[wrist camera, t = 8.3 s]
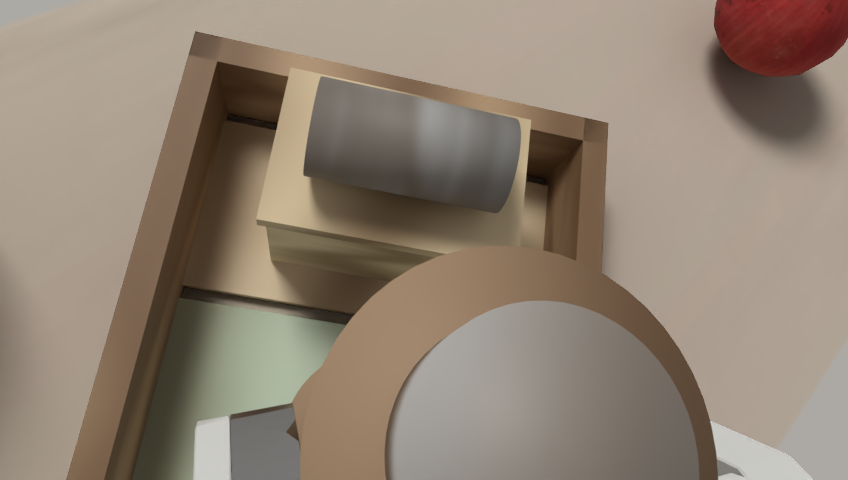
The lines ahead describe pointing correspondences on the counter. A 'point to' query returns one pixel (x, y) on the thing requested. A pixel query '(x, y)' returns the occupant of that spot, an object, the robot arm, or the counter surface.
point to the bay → (266, 260)
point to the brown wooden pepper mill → (504, 380)
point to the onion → (781, 33)
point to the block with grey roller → (388, 178)
